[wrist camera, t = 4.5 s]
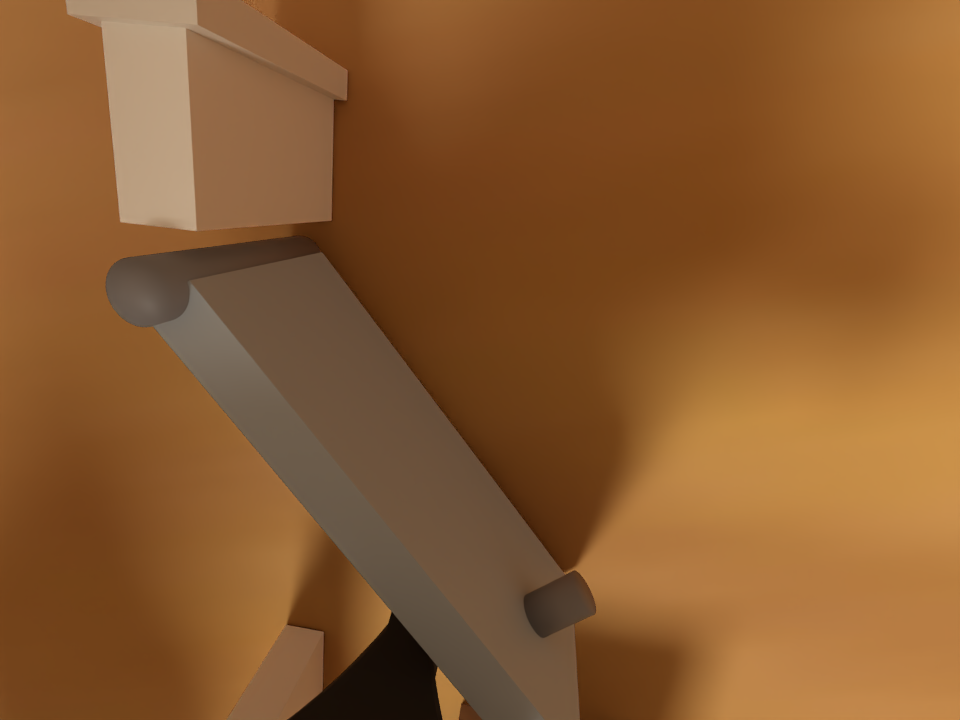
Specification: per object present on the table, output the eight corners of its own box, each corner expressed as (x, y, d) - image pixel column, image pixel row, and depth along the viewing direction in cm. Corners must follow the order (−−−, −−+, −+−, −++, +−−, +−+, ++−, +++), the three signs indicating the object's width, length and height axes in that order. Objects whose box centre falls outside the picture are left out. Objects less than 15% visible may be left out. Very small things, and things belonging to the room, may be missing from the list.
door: (611, 564, 14) (646, 767, 9) (540, 599, 14) (535, 807, 9) (341, 195, 12) (194, 189, 7) (272, 251, 13) (92, 283, 8)
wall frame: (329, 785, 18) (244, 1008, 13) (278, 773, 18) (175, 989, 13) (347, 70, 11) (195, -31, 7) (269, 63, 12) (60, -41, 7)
